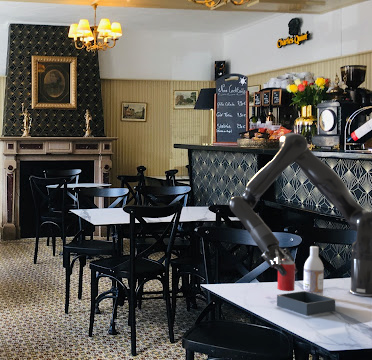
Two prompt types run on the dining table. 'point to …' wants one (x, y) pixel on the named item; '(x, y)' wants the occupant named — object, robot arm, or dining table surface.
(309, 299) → the tub
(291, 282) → the can
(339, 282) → the dining table surface
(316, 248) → the bath foam
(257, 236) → the robot arm
